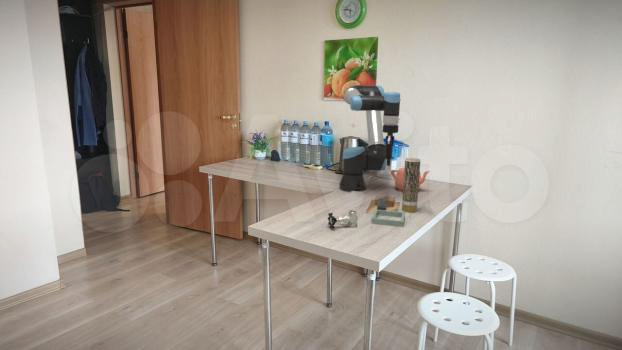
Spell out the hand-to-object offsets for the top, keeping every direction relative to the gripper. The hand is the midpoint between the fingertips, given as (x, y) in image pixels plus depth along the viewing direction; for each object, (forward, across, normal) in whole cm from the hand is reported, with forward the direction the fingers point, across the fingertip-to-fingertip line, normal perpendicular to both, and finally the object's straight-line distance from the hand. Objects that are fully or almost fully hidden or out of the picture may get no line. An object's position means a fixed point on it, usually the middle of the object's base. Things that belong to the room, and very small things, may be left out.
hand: (388, 171), depth 201 cm
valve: (+16, -44, +13) cm, 48 cm away
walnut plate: (+15, -9, 0) cm, 17 cm away
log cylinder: (+16, -15, -12) cm, 25 cm away
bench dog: (+15, -22, 0) cm, 26 cm away
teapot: (+15, +26, -10) cm, 32 cm away
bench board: (+16, -14, 0) cm, 21 cm away
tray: (+16, -32, -4) cm, 35 cm away
